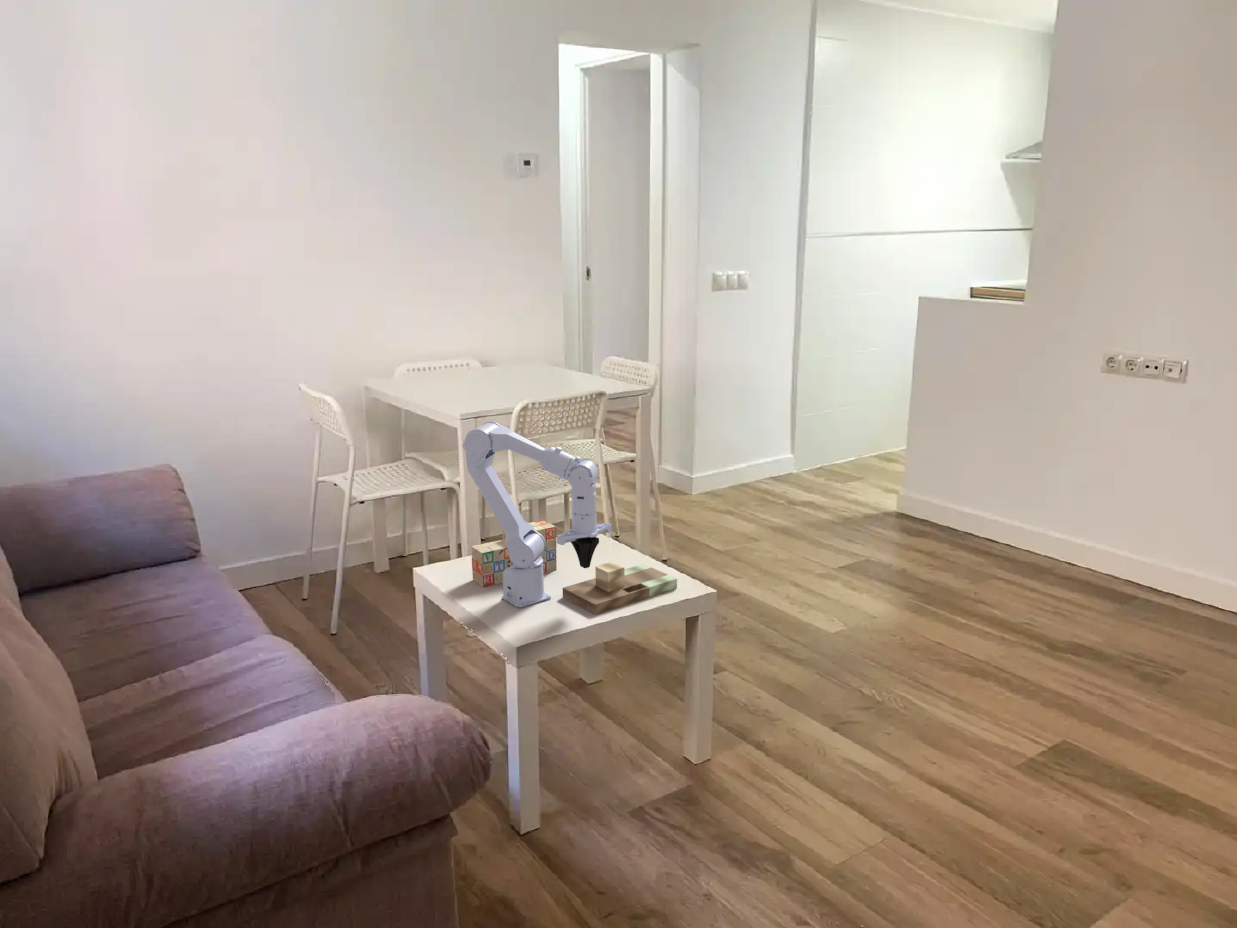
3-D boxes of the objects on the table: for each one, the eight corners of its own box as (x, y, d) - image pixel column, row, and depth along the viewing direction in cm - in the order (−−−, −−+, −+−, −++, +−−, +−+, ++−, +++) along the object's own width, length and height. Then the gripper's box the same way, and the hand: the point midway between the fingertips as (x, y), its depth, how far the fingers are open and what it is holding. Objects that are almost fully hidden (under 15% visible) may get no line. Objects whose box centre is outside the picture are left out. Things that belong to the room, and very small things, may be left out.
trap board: (595, 614, 224) (595, 604, 223) (562, 597, 233) (562, 587, 233) (676, 587, 239) (677, 578, 238) (643, 572, 249) (643, 563, 248)
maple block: (608, 591, 230) (608, 572, 229) (595, 585, 234) (595, 566, 233) (624, 586, 233) (624, 567, 232) (611, 580, 237) (611, 561, 236)
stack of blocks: (483, 588, 240) (481, 541, 237) (472, 580, 245) (470, 534, 242) (557, 570, 251) (556, 525, 248) (545, 563, 256) (544, 519, 253)
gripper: (568, 522, 216) (569, 578, 220) (619, 509, 225) (619, 564, 229) (551, 514, 222) (552, 570, 225) (600, 503, 230) (601, 556, 234)
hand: (584, 566), depth 227 cm, fingers closed
